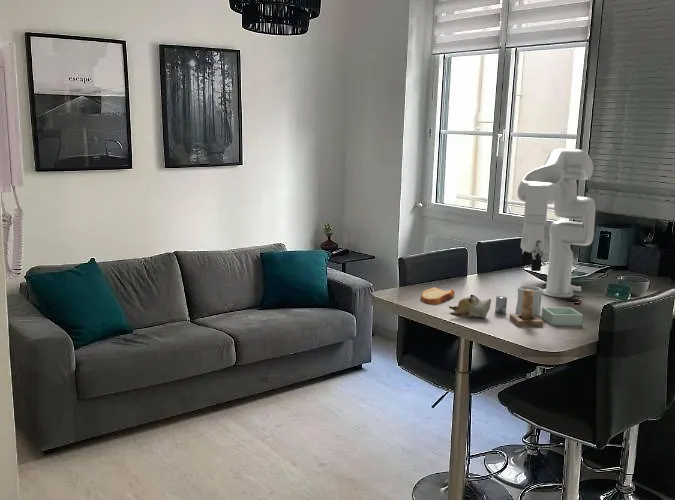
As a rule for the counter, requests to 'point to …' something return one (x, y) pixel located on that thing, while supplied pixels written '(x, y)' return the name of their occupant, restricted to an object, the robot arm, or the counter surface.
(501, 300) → the bench dog
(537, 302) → the mug
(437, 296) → the slice of bread
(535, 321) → the socket block
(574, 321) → the tray
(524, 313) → the dowel
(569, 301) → the counter surface
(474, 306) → the ceramic sculpture
